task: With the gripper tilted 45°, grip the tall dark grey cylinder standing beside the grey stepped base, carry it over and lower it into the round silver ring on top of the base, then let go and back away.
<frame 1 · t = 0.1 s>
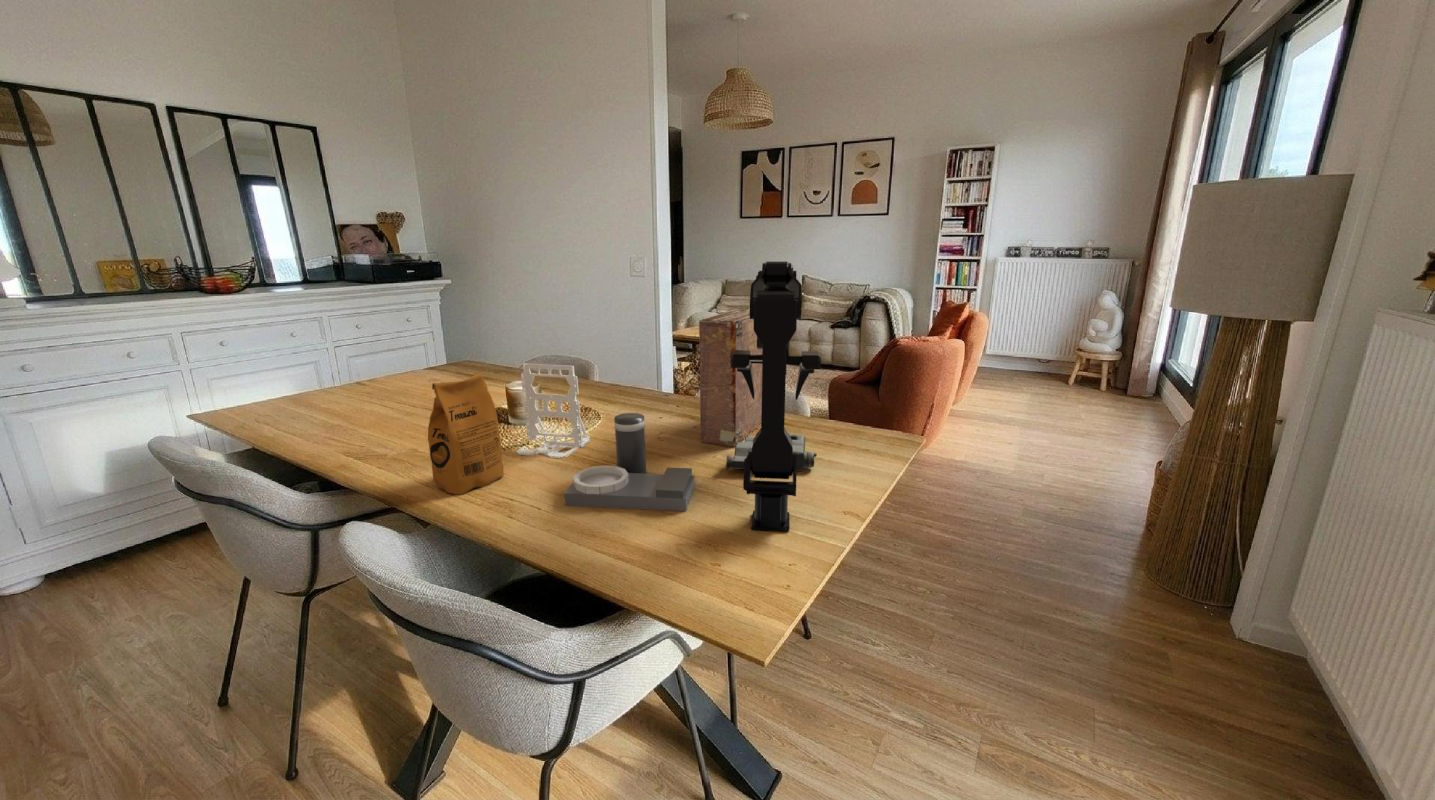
hand: (774, 398, 123), 15 cm above the table, tool pointing down, fingers open, 9 cm apart
grey stepped base: (632, 495, 110), on the table
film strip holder: (553, 447, 137), on the table
camcorder: (774, 462, 127), on the table
coffee package: (470, 483, 117), on the table
dark grey cylinder: (632, 475, 120), on the table
book: (737, 430, 149), on the table
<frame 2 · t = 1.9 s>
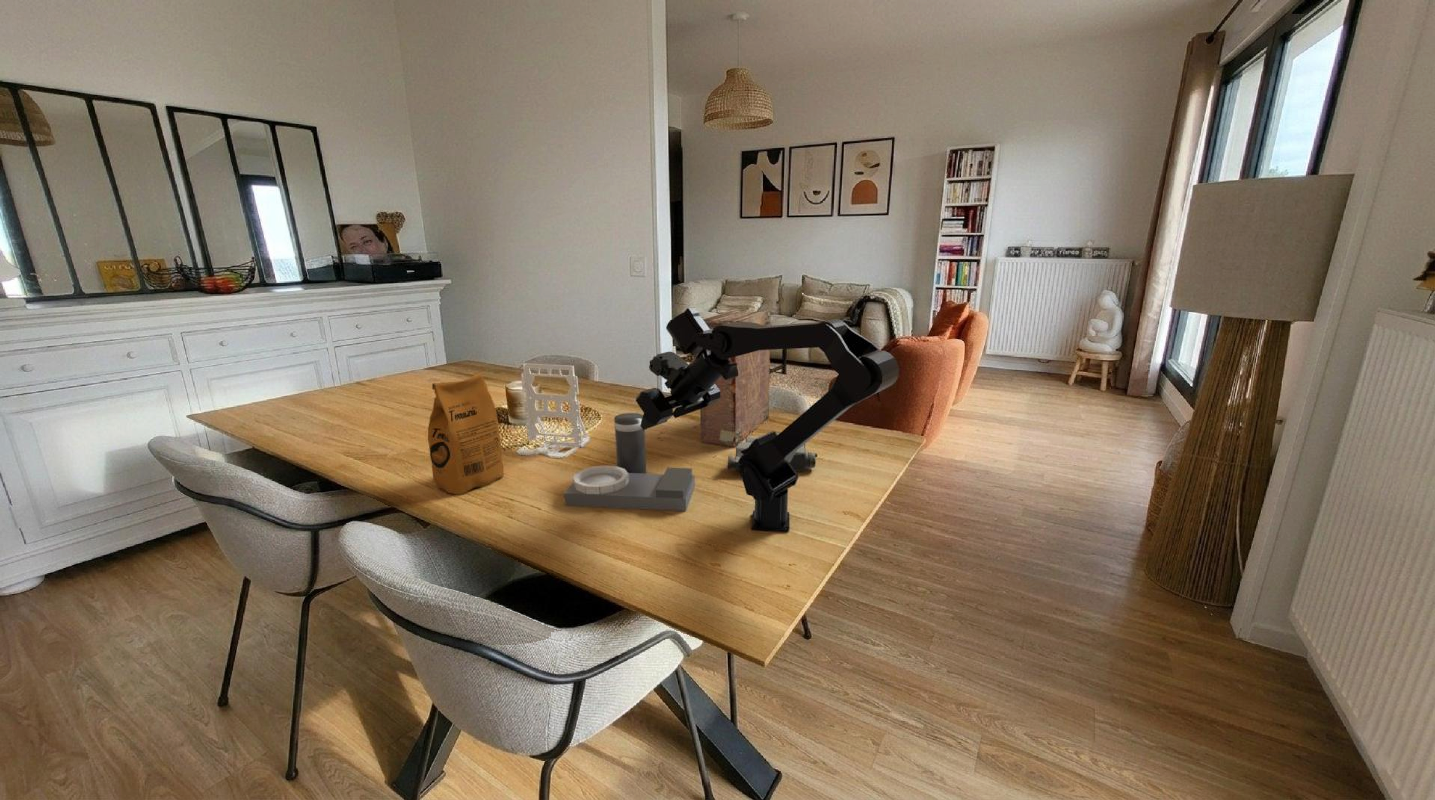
hand: (658, 421, 111), 13 cm above the table, tool tilted 45°, fingers open, 9 cm apart
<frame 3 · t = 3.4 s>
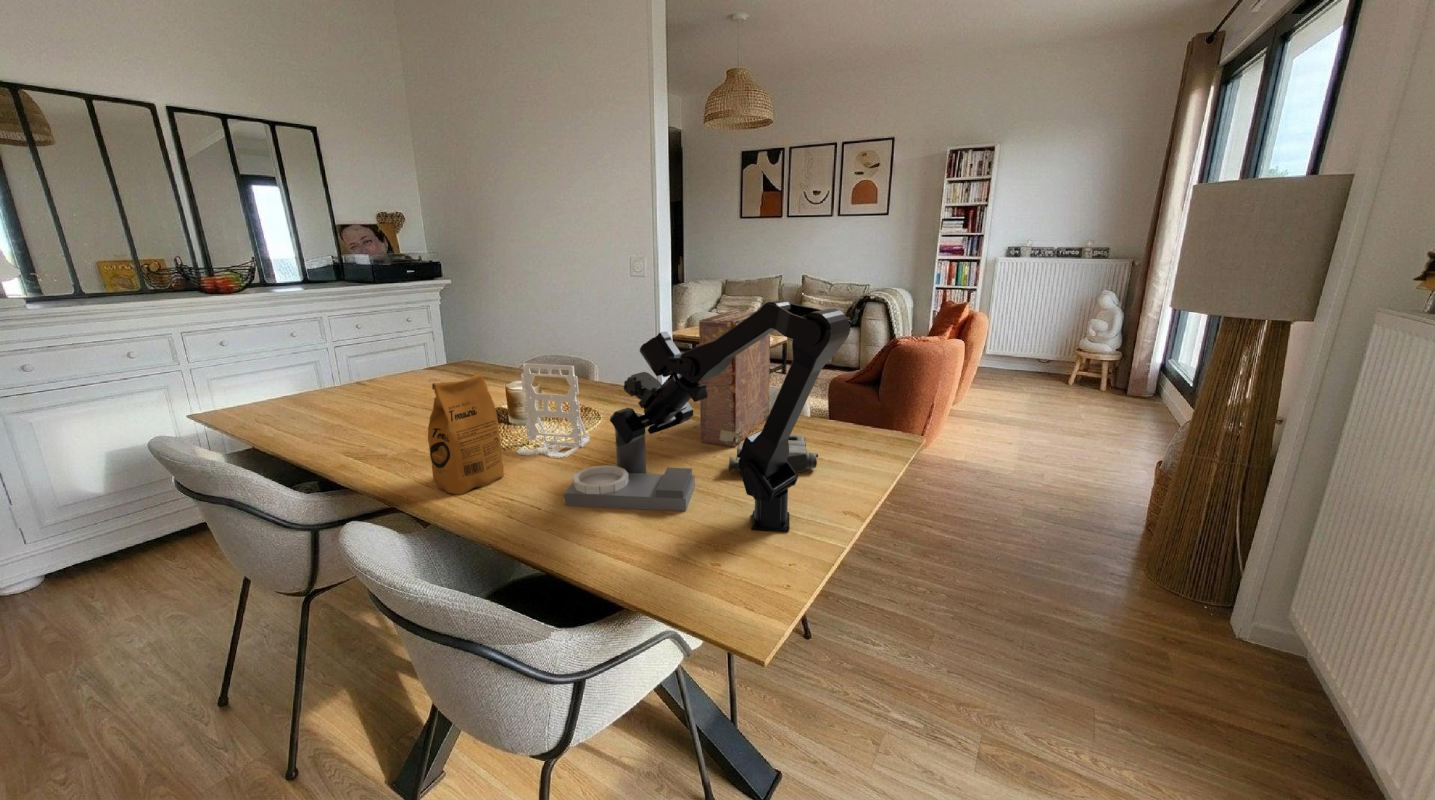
hand: (633, 438, 117), 9 cm above the table, tool tilted 45°, fingers open, 9 cm apart
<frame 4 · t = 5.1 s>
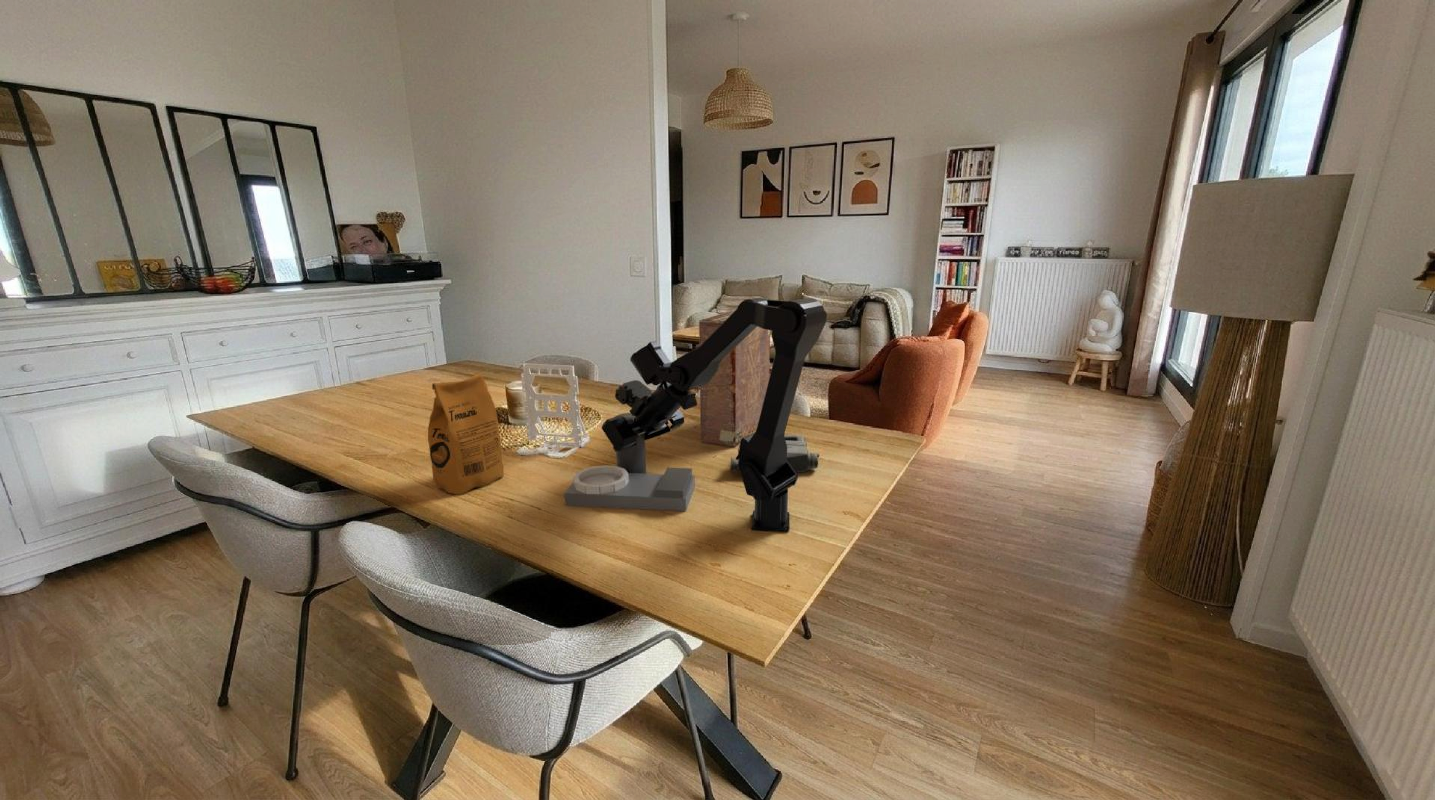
hand: (625, 445, 119), 7 cm above the table, tool tilted 45°, fingers closed on dark grey cylinder, 6 cm apart
dark grey cylinder: (632, 475, 120), on the table, touching gripper
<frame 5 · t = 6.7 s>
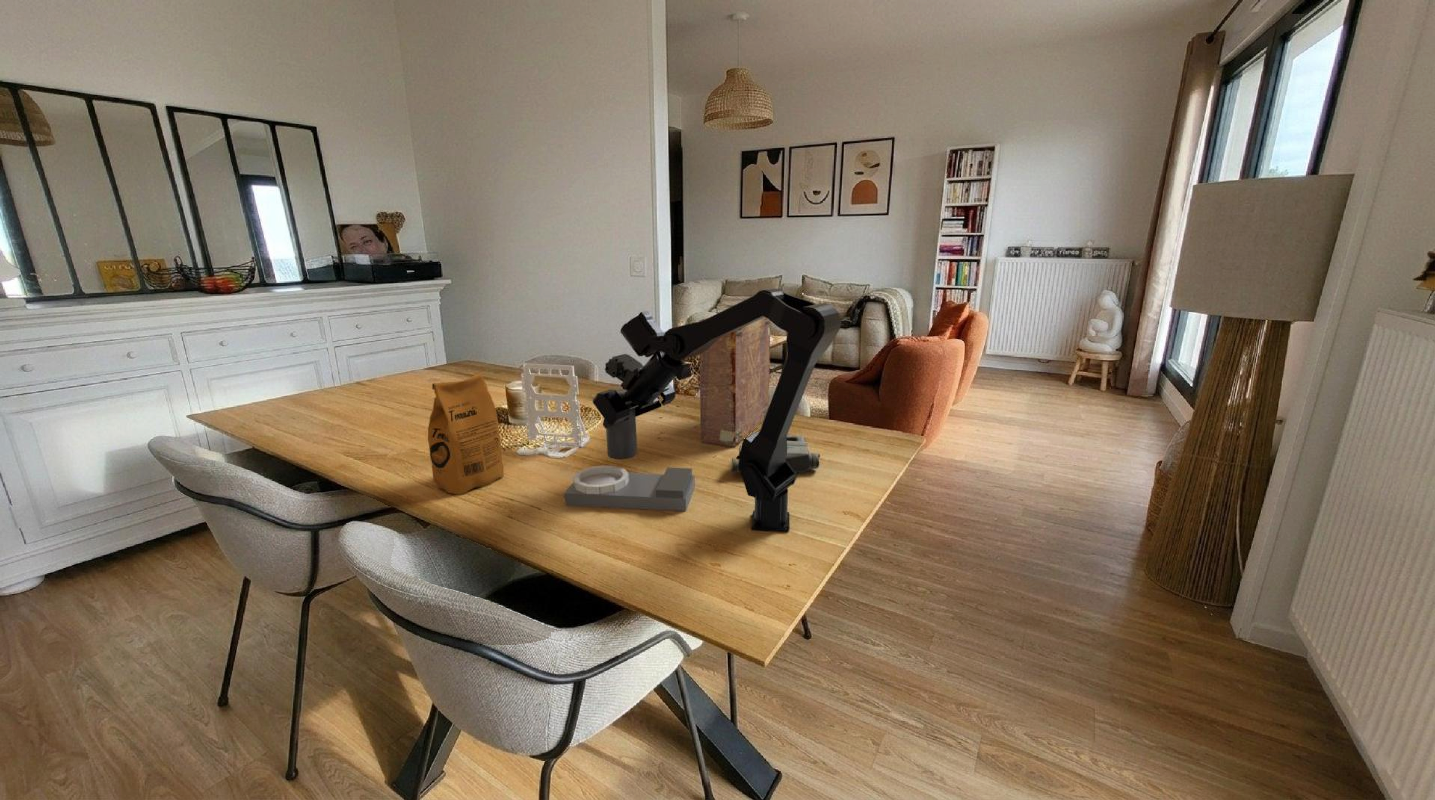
hand: (615, 422, 115), 12 cm above the table, tool tilted 45°, fingers closed on dark grey cylinder, 6 cm apart
dark grey cylinder: (622, 453, 116), point 6 cm above the table, touching gripper
when the fingers open (10 cm above the table, at t = 8.7 s): dark grey cylinder stays where it is, resting on grey stepped base.
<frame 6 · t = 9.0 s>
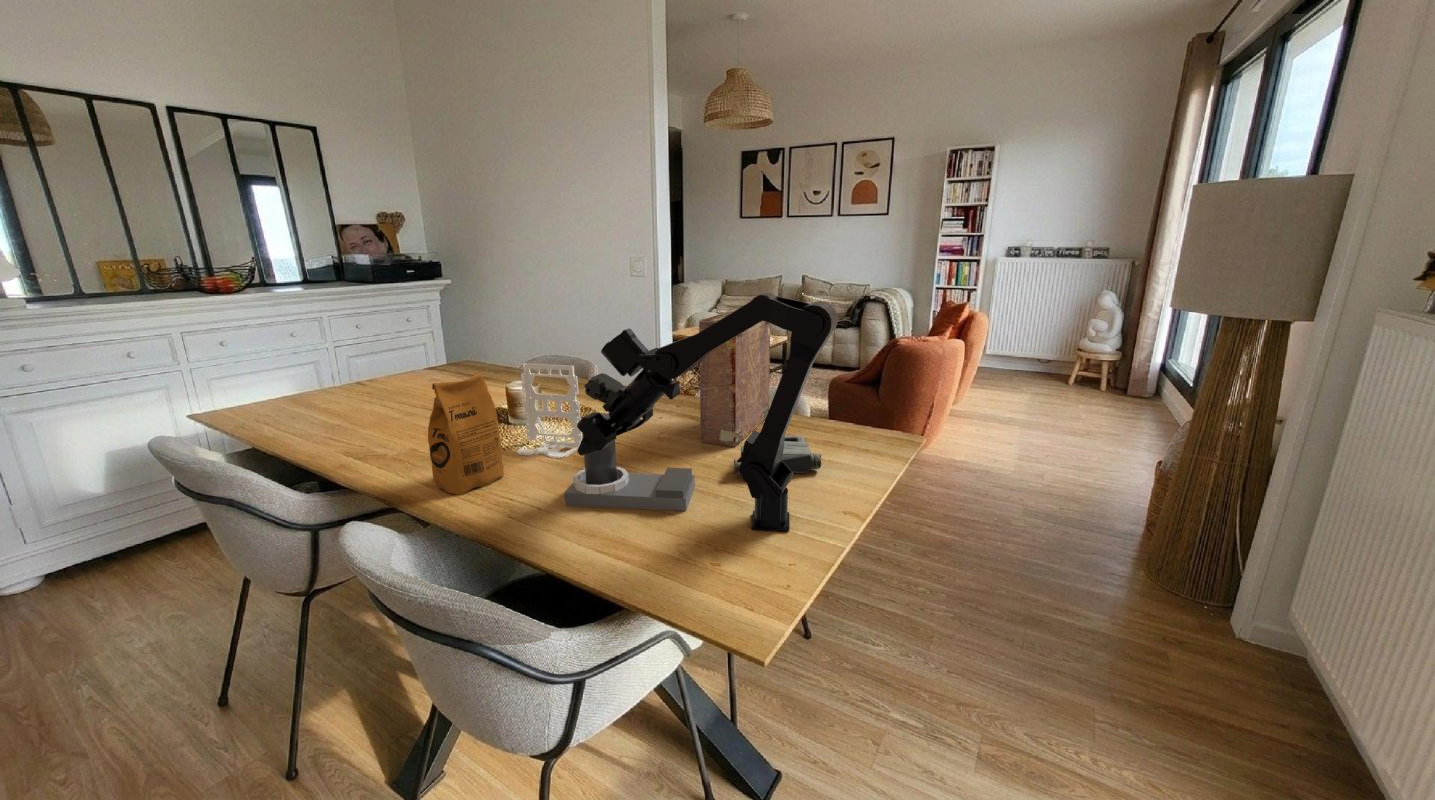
hand: (592, 445, 109), 10 cm above the table, tool tilted 45°, fingers open, 9 cm apart
dark grey cylinder: (601, 481, 110), point 3 cm above the table, touching grey stepped base
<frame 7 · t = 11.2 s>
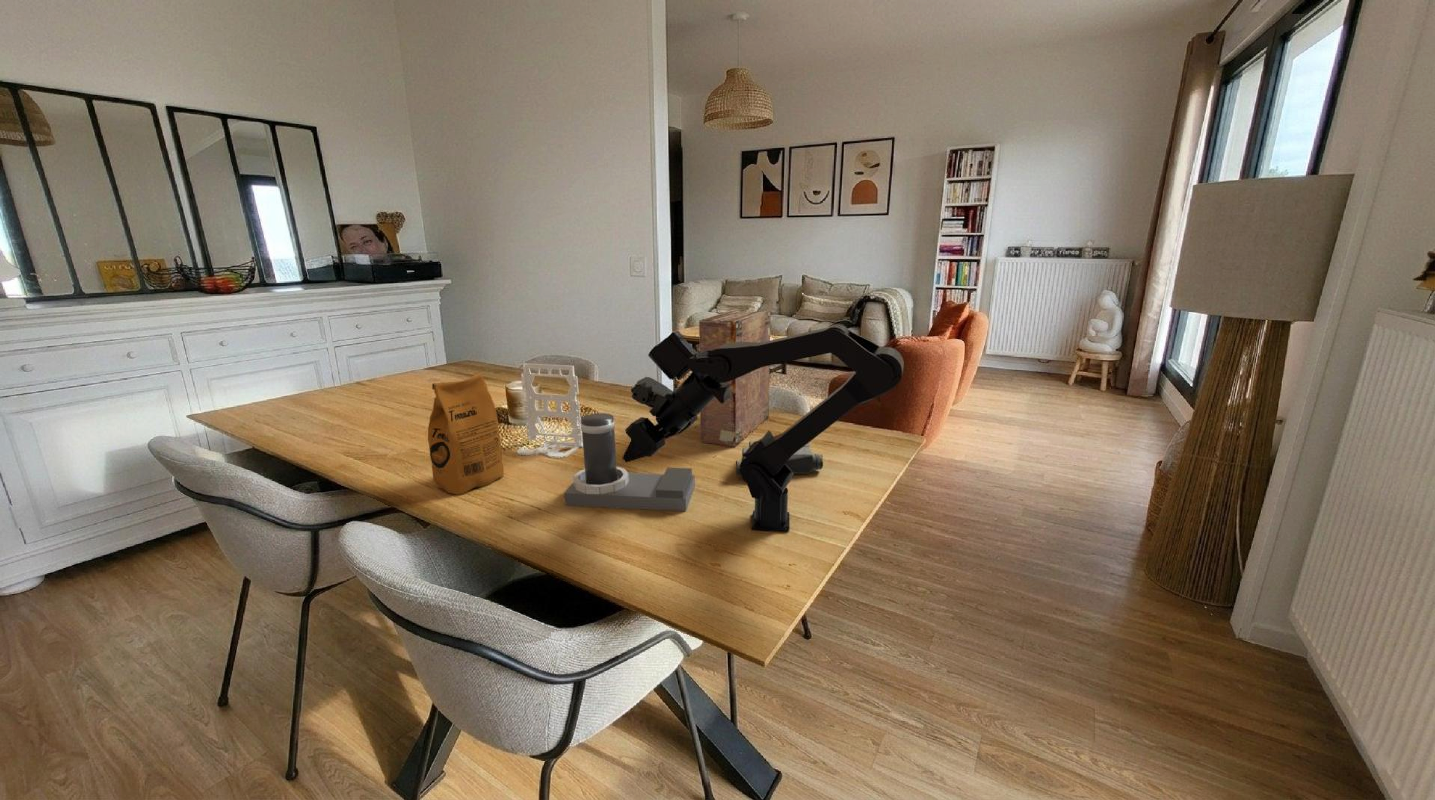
hand: (636, 451, 106), 10 cm above the table, tool tilted 45°, fingers open, 9 cm apart
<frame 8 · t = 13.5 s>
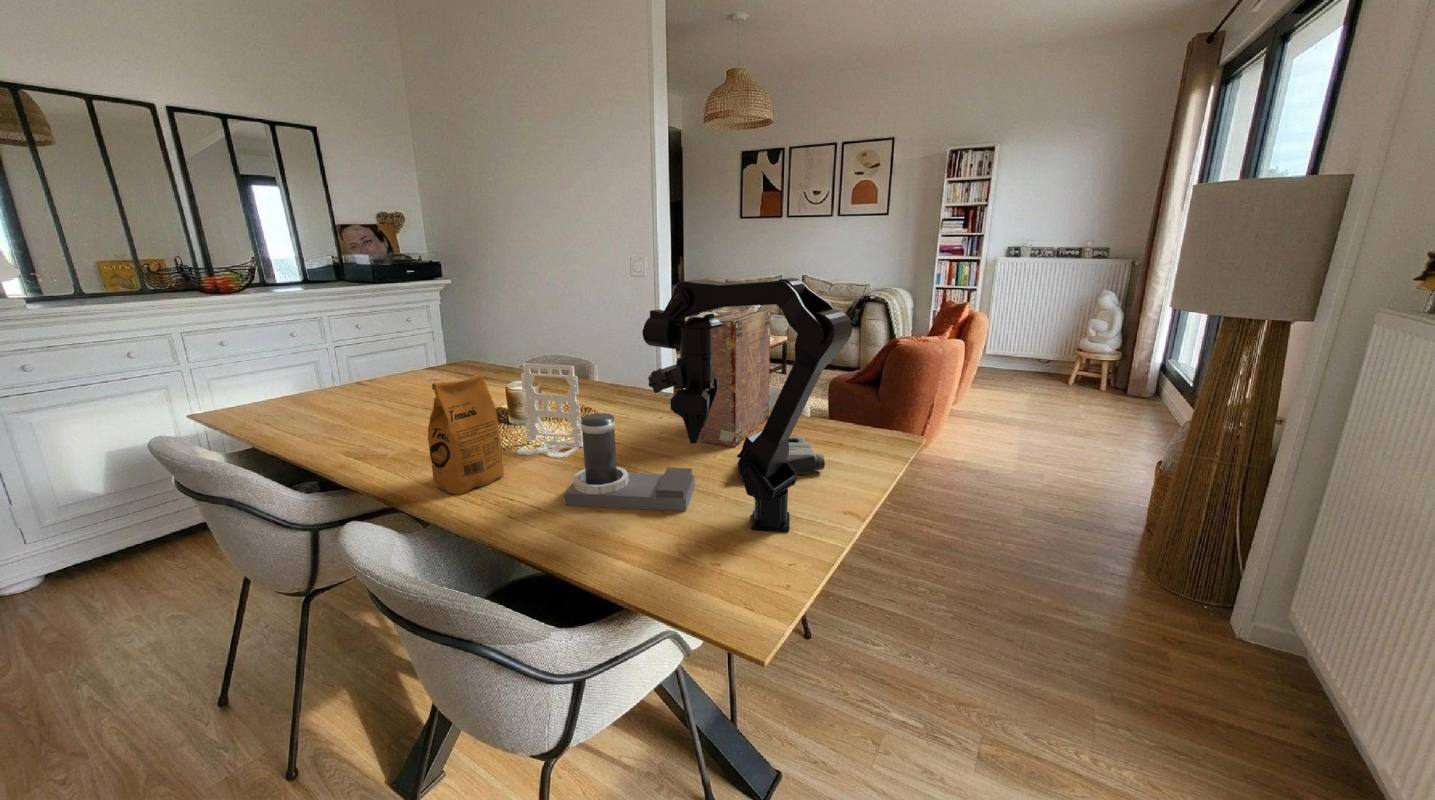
hand: (697, 434, 105), 13 cm above the table, tool pointing down, fingers open, 9 cm apart
at the end: dark grey cylinder 0.1 cm from the target spot on the grey stepped base, point 2.7 cm above the grey stepped base's base; dark grey cylinder tilted 0°; the gripper is holding nothing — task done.
